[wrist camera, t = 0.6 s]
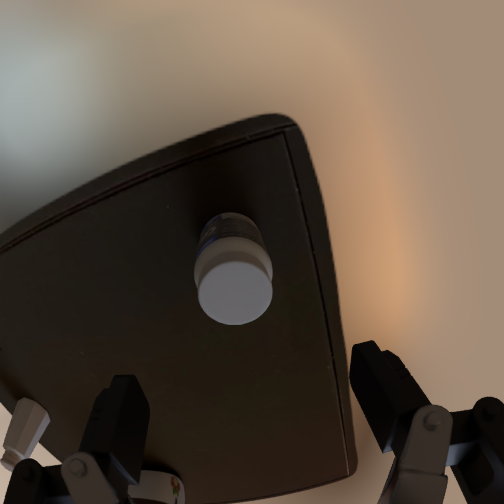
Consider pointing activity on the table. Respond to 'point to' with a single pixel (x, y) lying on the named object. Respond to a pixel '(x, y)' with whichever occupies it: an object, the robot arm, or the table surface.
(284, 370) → the table surface
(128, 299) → the table surface
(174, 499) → the spread jar
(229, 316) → the pill bottle
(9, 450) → the pepper shaker
